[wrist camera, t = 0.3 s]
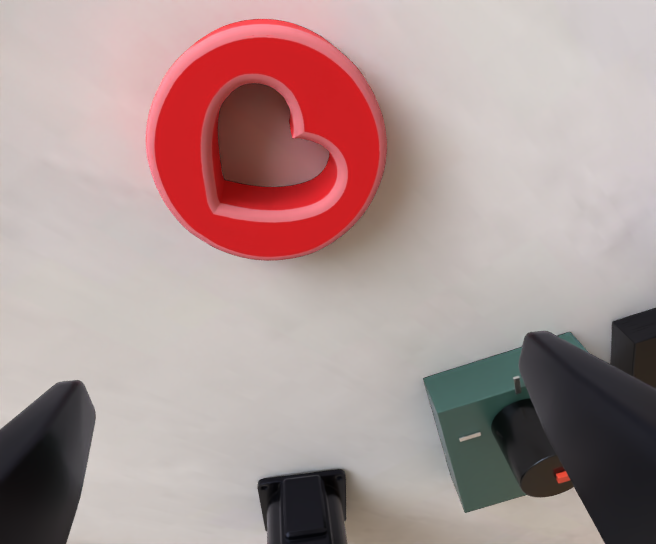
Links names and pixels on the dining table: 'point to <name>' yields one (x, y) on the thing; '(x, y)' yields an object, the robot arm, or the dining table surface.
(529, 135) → the dining table surface
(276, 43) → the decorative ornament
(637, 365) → the hob
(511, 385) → the control box
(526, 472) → the hob knob
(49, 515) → the robot arm
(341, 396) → the dining table surface
